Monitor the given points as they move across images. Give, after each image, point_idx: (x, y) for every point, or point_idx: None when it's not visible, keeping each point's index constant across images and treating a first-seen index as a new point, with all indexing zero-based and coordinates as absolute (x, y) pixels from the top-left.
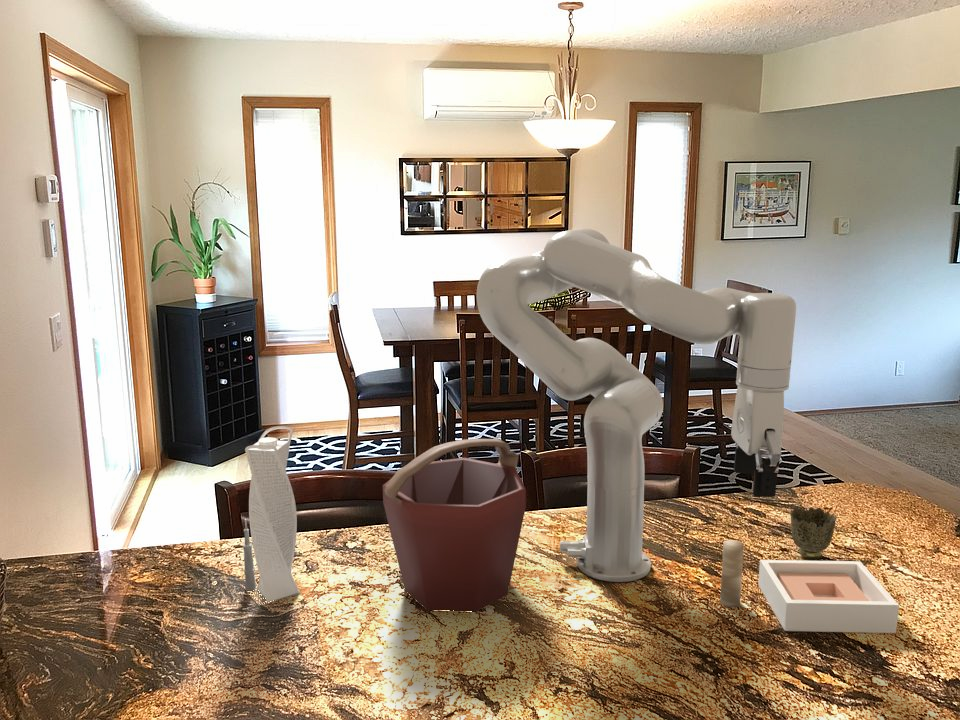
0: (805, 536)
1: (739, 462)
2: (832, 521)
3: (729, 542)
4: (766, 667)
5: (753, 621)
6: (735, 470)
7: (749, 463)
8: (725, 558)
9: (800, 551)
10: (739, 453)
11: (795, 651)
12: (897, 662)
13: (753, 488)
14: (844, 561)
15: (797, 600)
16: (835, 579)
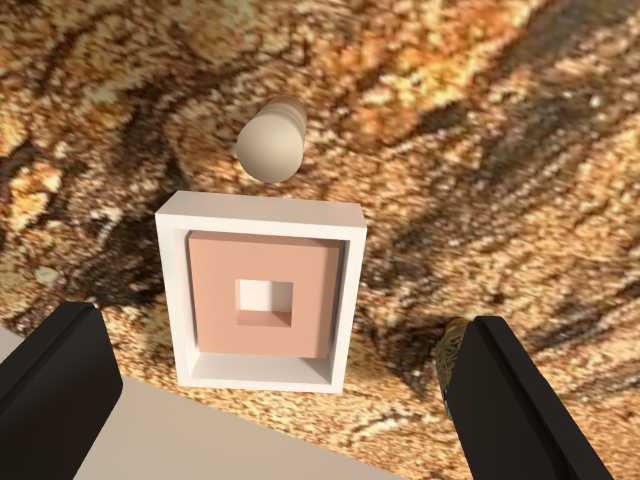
0: (452, 350)
1: (494, 389)
2: None
3: (282, 141)
4: (31, 106)
5: (209, 142)
6: (485, 324)
7: (473, 431)
8: (259, 113)
9: (464, 321)
10: (536, 459)
11: (106, 183)
12: (109, 318)
13: (49, 328)
14: (343, 372)
15: (170, 238)
16: (306, 334)
